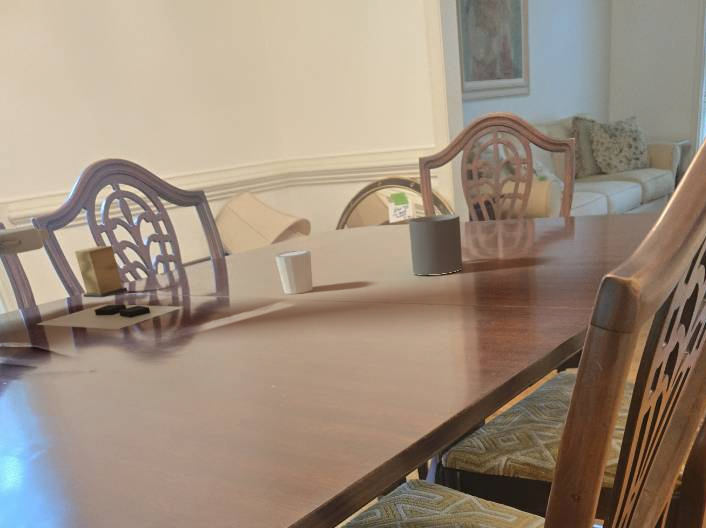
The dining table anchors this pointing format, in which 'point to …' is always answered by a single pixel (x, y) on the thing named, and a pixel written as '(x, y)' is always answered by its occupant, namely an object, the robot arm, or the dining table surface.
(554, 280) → the dining table surface
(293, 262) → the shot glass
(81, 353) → the dining table surface
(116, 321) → the note board
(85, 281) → the eraser
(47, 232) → the robot arm
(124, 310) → the flat black square block
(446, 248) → the coffee mug
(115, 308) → the smudge
